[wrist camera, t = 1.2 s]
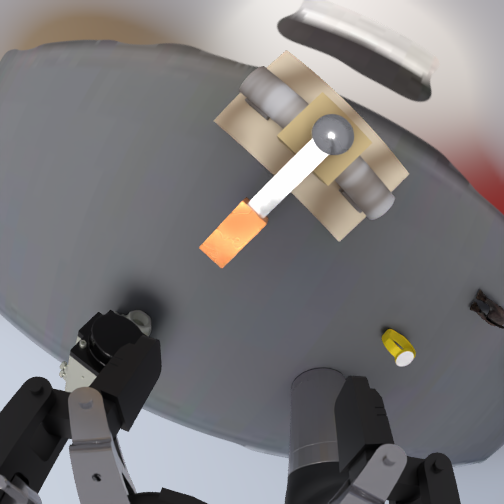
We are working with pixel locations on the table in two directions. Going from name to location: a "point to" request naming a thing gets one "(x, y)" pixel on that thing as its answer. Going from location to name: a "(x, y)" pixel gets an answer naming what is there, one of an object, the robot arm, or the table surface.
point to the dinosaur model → (495, 315)
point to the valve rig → (299, 134)
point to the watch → (401, 355)
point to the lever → (277, 189)
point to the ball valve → (101, 345)
